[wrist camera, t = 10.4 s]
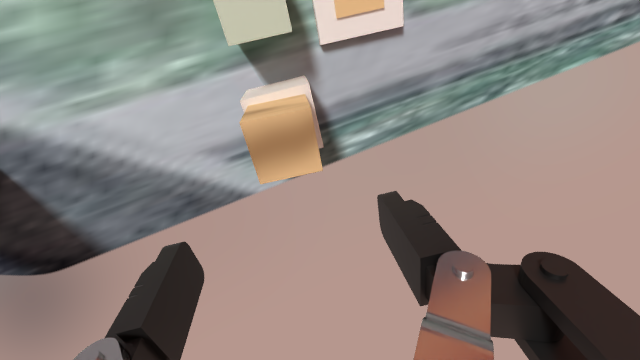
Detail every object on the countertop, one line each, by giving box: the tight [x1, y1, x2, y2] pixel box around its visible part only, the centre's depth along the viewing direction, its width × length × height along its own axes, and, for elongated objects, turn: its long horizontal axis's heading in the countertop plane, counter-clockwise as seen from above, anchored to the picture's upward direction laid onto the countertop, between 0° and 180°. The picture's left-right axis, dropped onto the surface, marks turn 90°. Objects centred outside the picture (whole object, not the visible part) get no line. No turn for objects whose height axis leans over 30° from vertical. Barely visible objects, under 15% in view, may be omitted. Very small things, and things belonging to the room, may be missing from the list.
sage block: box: [213, 0, 292, 46], centre depth 21 cm, size 5×5×5 cm
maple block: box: [240, 94, 323, 184], centre depth 21 cm, size 5×5×5 cm
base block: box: [240, 76, 324, 148], centre depth 26 cm, size 6×6×5 cm
